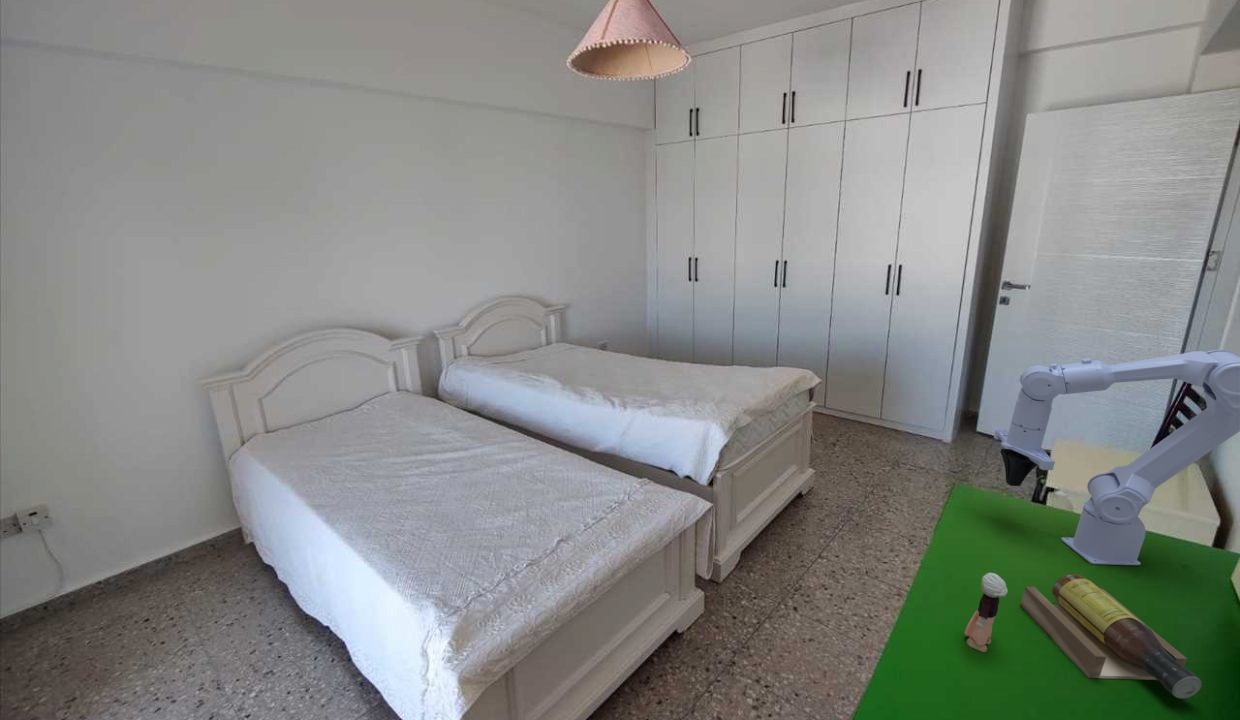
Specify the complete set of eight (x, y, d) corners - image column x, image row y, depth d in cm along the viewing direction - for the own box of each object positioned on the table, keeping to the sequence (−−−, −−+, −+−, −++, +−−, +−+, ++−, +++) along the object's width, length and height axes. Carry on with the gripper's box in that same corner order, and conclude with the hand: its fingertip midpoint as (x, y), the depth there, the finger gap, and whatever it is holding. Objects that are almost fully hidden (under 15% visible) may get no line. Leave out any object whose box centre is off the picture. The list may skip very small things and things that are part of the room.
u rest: (1096, 607, 92) (1102, 588, 91) (1178, 680, 78) (1187, 658, 77) (1020, 605, 92) (1025, 586, 91) (1088, 677, 78) (1096, 656, 77)
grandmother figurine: (967, 623, 88) (983, 558, 85) (994, 634, 86) (1012, 568, 82) (959, 652, 83) (976, 584, 79) (989, 665, 80) (1007, 595, 77)
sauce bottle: (1079, 600, 93) (1199, 708, 74) (1044, 600, 93) (1156, 708, 74) (1091, 569, 91) (1218, 673, 72) (1056, 569, 91) (1174, 673, 72)
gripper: (985, 410, 115) (972, 467, 119) (1034, 439, 101) (1017, 502, 105) (1019, 411, 114) (1004, 467, 118) (1072, 440, 101) (1054, 503, 105)
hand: (1013, 484), depth 112 cm, fingers closed
